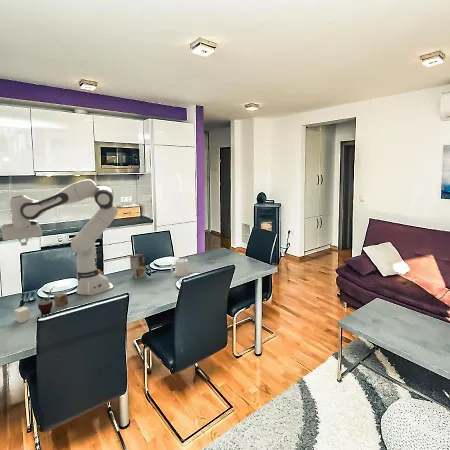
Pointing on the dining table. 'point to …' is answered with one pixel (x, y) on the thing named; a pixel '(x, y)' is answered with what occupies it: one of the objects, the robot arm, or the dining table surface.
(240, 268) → the dining table surface
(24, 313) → the off-white block
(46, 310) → the mate gourd
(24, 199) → the robot arm
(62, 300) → the walnut block
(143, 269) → the coffee box
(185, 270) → the mug
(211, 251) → the dining table surface
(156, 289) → the dining table surface
